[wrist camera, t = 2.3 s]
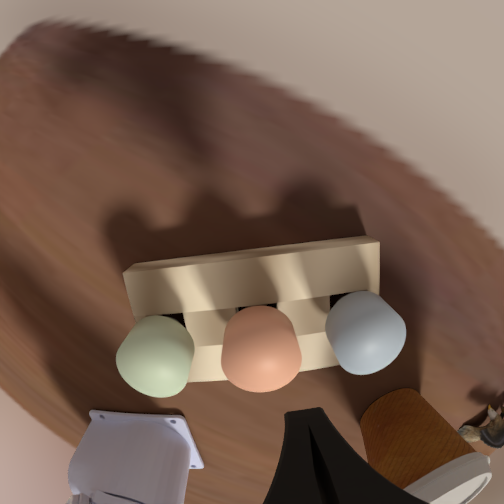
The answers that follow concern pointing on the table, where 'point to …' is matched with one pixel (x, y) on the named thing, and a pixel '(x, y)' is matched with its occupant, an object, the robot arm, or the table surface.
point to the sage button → (156, 356)
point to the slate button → (364, 332)
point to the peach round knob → (260, 349)
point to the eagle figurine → (486, 430)
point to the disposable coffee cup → (421, 450)
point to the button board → (255, 292)
